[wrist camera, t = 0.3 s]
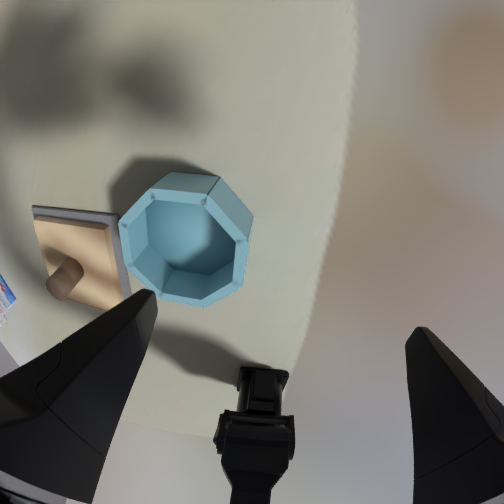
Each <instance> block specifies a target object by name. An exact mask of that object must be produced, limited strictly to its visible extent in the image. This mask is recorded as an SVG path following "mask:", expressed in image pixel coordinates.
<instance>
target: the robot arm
mask: <svg viewBox="0 0 504 504" xmlns="http://www.w3.org/2000/svg"><path fill="white" fill-rule="evenodd" d="M157 312H158V308H157V301H156V294H155V292H154V291H153V290H149V289H141V290H139V291H138V292H136V293H134V294H133V295H131V296H130V297H128V298H127V299H125V300H123V301H122V302H120V303H119V304H117V305H116V306H114V307H113V308H111V309H110V310H108V311H106V312H105V313H103V314H102V315H100V316H99V317H97V318H96V319H94V320H93V321H91V322H90V323H88V324H87V325H85V326H84V327H82V328H81V329H79V330H78V331H76V332H75V333H73V334H72V335H70V336H69V337H67V338H66V339H64V340H63V341H62V343H61V342H60V343H58V344H57V345H55V346H54V347H52V348H51V349H49V350H48V351H46V352H45V353H43V354H41V355H40V356H38V357H37V358H35V359H33V360H31V361H30V362H28V363H26V364H24V365H22V366H21V367H19V368H17V369H15V370H14V371H12V372H10V373H8V374H7V375H4V376H3V377H1V378H0V504H65V503H66V500H67V498H69V499H73V500H76V501H80V502H84V503H87V504H92V501H93V498H94V494H95V491H96V487H97V484H98V481H99V478H100V475H101V471H102V468H103V465H104V462H105V459H106V456H107V453H108V449H109V447H110V444H111V441H112V438H113V436H114V433H115V430H116V427H117V424H118V421H119V419H120V416H121V414H122V411H123V408H124V406H125V403H126V401H127V398H128V396H129V393H130V391H131V388H132V386H133V383H134V381H135V378H136V376H137V373H138V371H139V368H140V366H141V364H142V361H143V359H144V356H145V353H146V350H147V347H148V343H149V340H150V337H151V333H152V330H153V327H154V323H155V320H156V317H157ZM405 352H406V365H407V383H408V391H409V400H410V408H411V419H412V431H413V449H414V490H413V504H504V406H503V405H502V404H501V403H500V402H499V401H498V400H497V399H496V398H495V396H494V395H493V394H492V393H491V392H490V391H489V390H488V389H487V388H486V387H484V384H483V383H482V382H481V381H480V380H479V379H478V378H477V377H476V376H475V375H474V374H473V373H472V372H471V371H470V370H469V368H467V366H465V364H464V363H463V362H462V361H461V360H460V359H459V358H458V357H457V356H456V355H455V354H454V353H453V352H452V351H451V350H450V349H449V348H448V347H447V346H446V345H445V344H444V343H443V342H442V341H441V340H440V339H438V337H437V336H436V335H435V334H434V333H433V332H431V331H430V330H429V329H428V328H427V327H417V328H415V330H414V331H413V333H412V334H411V336H410V337H409V338H408V340H407V341H406V344H405ZM288 378H289V373H288V372H281V371H272V370H263V369H255V368H248V367H241V368H240V372H239V378H238V385H237V391H238V392H239V398H238V405H237V411H229V410H225V411H224V413H223V414H220V417H219V422H218V426H217V430H216V432H215V435H214V439H213V442H214V443H215V445H216V448H217V454H221V455H222V457H221V464H222V468H223V471H224V473H225V475H226V477H227V479H228V481H229V483H230V485H231V487H232V493H231V499H230V504H270V496H271V489H272V488H273V487H274V485H275V484H276V483H277V481H278V480H279V479H280V478H281V477H282V475H283V474H284V473H285V471H286V470H287V469H288V464H289V460H292V458H293V455H294V450H295V428H294V416H293V415H289V416H282V415H281V405H282V392H283V389H284V387H285V385H286V383H287V380H288Z"/></svg>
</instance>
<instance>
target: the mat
mask: <svg viewBox="0 0 504 504" xmlns="http://www.w3.org/2000/svg"><path fill="white" fill-rule="evenodd" d="M32 212H33V216H34V219H35V218H36V217H37V216H43V217H51V218H59V219H66V220H74V221H81V222H88V223H96V224H103V225H109V226H110V233H111V239H112V245H113V251H114V256H115V261H116V267H117V271H118V276H119V281H120V285H121V289H122V294H123V298H124V300H125V299H127V298H128V297H130V296H131V295H132V293H131V289H130V284H129V279H128V274H127V268H126V266H125V264H124V259H123V253H122V246H121V240H120V233H119V225H118V222H119V215H114V214H105V213H96V212H87V211H78V210H68V209H59V208H49V207H39V206H33V207H32Z"/></svg>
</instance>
